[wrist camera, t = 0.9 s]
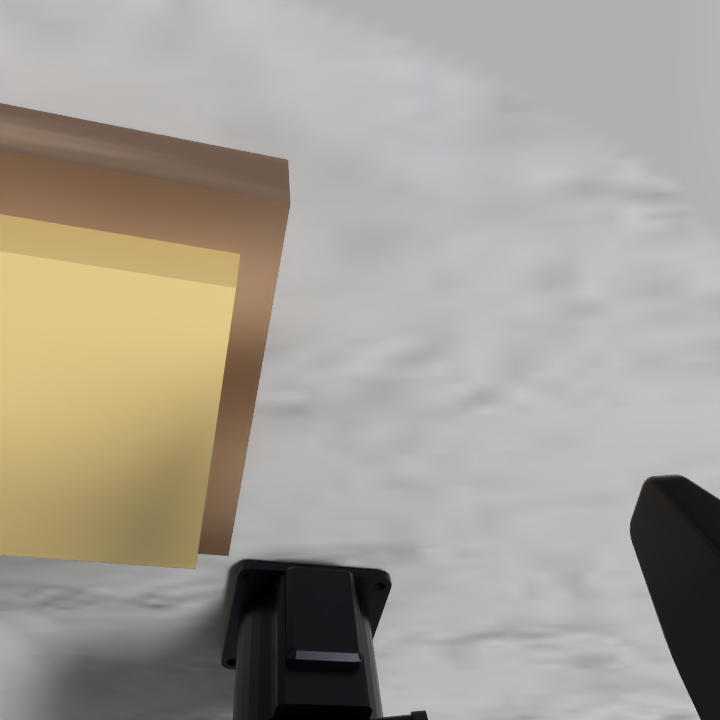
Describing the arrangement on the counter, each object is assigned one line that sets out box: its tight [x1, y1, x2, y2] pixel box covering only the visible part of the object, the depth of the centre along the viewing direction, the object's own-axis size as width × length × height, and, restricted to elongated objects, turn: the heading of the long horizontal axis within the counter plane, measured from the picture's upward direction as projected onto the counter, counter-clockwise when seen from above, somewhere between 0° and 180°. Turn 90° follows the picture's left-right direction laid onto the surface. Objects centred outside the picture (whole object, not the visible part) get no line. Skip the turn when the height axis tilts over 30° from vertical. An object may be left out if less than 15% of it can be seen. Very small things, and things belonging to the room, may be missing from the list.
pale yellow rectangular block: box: [0, 214, 240, 569], centre depth 17 cm, size 9×6×2 cm, turn 167°
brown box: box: [0, 103, 290, 556], centre depth 20 cm, size 12×10×4 cm
